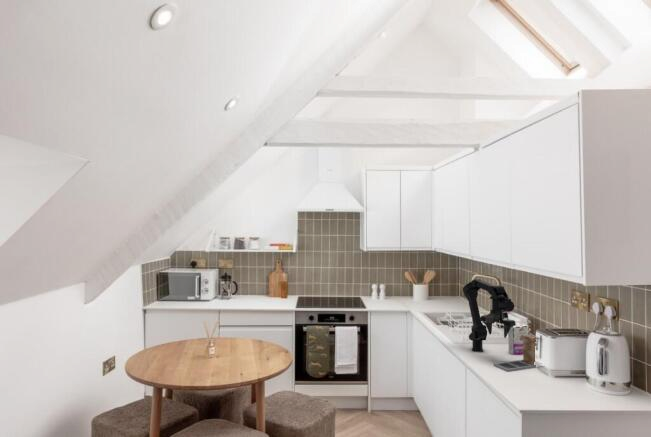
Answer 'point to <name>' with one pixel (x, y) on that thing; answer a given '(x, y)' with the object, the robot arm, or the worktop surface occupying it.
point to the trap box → (514, 365)
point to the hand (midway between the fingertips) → (497, 336)
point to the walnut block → (529, 349)
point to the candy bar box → (517, 338)
